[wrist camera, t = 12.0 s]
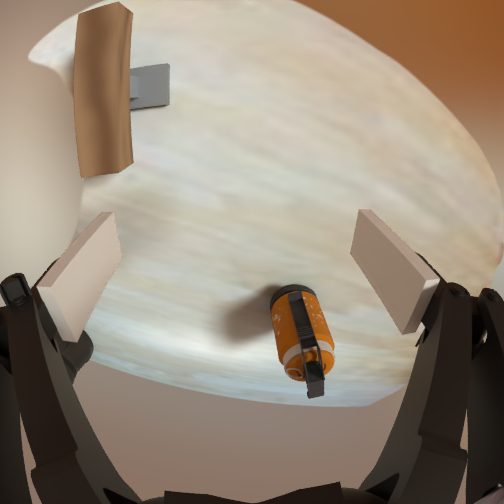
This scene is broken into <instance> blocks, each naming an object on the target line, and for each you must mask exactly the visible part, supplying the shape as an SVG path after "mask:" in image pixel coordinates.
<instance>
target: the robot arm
mask: <svg viewBox="0 0 504 504" xmlns="http://www.w3.org/2000/svg"><path fill="white" fill-rule="evenodd" d="M350 254H351V255H352V257H353V258H354V260H355V261H356V263H357V264H358V265H359V267H360V268H361V270H362V271H363V273H364V274H365V276H366V278H367V279H368V281H369V282H370V284H371V285H372V287H373V288H374V290H375V291H376V293H377V295H378V296H379V298H380V299H381V301H382V303H383V304H384V306H385V307H386V309H387V311H388V312H389V314H390V316H391V317H392V319H393V321H394V322H395V324H396V326H397V327H398V329H399V331H400V332H401V334H402V335H403V334H409V333H414V332H416V330H417V329H418V327H419V325H420V323H421V322H422V323H423V325H424V326H425V329H424V330H423V332H422V334H421V336H420V338H419V340H418V342H417V343H416V345H415V346H416V347H417V346H418V345H419V348H418V352H417V355H416V359H415V363H414V366H413V370H412V373H411V377H410V380H409V383H408V386H407V390H406V393H405V396H404V399H403V401H402V404H401V407H400V410H399V412H398V415H397V418H396V420H395V423H394V426H393V428H392V430H391V433H390V435H389V437H388V440H387V442H386V444H385V446H384V449H383V451H382V453H381V455H380V457H379V459H378V461H377V464H376V465H375V467H374V468H373V470H372V471H371V472H370V474H369V475H368V476H367V477H366V478H365V480H364V481H363V483H362V484H361V486H360V487H359V489H353V488H341V485H340V482H336V483H331V484H327V485H322V486H316V487H311V488H305V489H299V490H296V491H293V492H290V493H288V494H285V495H282V496H279V497H276V498H273V499H269V500H266V501H263V502H259V503H245V502H240V501H235V500H230V499H225V498H221V497H217V496H213V495H208V494H194V493H181V492H171V491H165V493H164V497H157V498H152V499H149V500H145V501H141V499H140V498H139V497H138V496H137V494H136V493H135V492H134V491H133V490H132V489H131V488H130V487H129V486H128V485H127V484H126V483H125V482H124V480H123V479H122V478H121V477H120V475H119V474H118V472H117V471H116V470H115V468H114V466H113V464H112V463H111V461H110V460H109V458H108V456H107V454H106V453H105V451H104V449H103V448H102V446H101V444H100V442H99V440H98V439H97V437H96V435H95V433H94V431H93V429H92V427H91V425H90V423H89V421H88V419H87V417H86V415H85V413H84V411H83V409H82V407H81V404H80V402H79V400H78V398H77V395H76V393H75V390H74V388H73V386H72V385H73V382H74V379H75V377H76V374H77V372H78V371H79V370H80V368H82V366H83V365H84V364H85V363H86V362H88V361H89V359H90V358H91V355H92V353H93V343H92V341H91V339H90V337H89V336H88V335H87V333H86V332H85V331H84V330H83V329H84V327H85V325H86V323H87V321H88V319H89V317H90V315H91V313H92V311H93V309H94V307H95V305H96V303H97V301H98V299H99V298H100V296H101V294H102V292H103V290H104V288H105V287H106V285H107V283H108V281H109V279H110V278H111V276H112V274H113V272H114V271H115V269H116V267H117V265H118V264H119V262H120V260H121V259H122V257H123V256H122V251H121V247H120V242H119V238H118V233H117V228H116V223H115V217H114V212H105V213H101V214H100V215H99V216H98V217H97V218H96V219H95V220H94V221H93V222H92V223H91V224H90V225H89V226H88V227H87V228H86V229H85V230H84V231H83V232H82V233H81V234H80V235H79V236H78V238H77V239H76V240H75V241H74V242H73V243H72V244H71V245H70V246H69V248H68V249H67V250H66V251H65V252H64V253H63V254H62V256H61V257H59V258H58V259H57V260H55V261H54V262H53V263H52V264H51V265H50V266H49V267H48V268H47V271H45V272H44V273H43V276H41V277H40V279H38V281H37V282H36V283H35V284H34V286H33V287H32V288H31V290H30V288H29V286H28V284H27V281H26V278H25V276H24V274H22V273H15V274H12V275H10V276H8V277H7V278H5V279H4V280H3V281H2V282H1V284H0V293H1V296H2V298H3V300H4V302H5V304H6V306H4V307H0V504H32V500H31V496H30V491H29V487H28V482H27V477H26V472H25V464H24V458H23V450H22V441H21V427H20V413H21V417H22V421H23V425H24V429H25V432H26V435H27V438H28V442H29V445H30V448H31V451H32V454H33V456H34V459H35V462H36V468H34V469H33V470H31V478H32V482H33V484H34V487H35V489H36V492H37V494H38V496H39V498H40V500H41V502H42V504H454V503H455V500H456V497H457V494H458V491H459V488H460V485H461V482H462V479H463V475H464V472H465V467H466V464H467V463H468V464H467V477H466V504H504V301H503V299H502V298H501V296H500V295H499V294H498V293H497V291H494V290H493V289H490V288H483V289H482V291H481V293H480V295H479V297H474V296H470V293H469V292H468V291H467V289H465V288H464V287H463V286H461V285H459V284H457V283H453V282H449V283H447V282H446V281H445V280H444V279H443V278H442V277H441V276H440V274H439V273H438V272H437V271H436V270H435V269H433V267H432V266H431V265H430V264H428V262H427V261H426V260H425V259H424V258H423V256H421V255H420V254H418V253H416V252H415V251H413V250H412V249H411V248H410V247H409V246H408V245H407V244H406V243H405V242H404V241H403V240H402V239H401V238H400V237H399V236H398V235H397V234H396V233H395V232H394V231H393V230H392V229H391V228H390V227H389V226H388V225H387V224H386V223H385V222H384V221H383V220H381V219H380V218H379V217H378V216H377V215H376V214H375V213H374V212H373V211H372V210H363V209H359V211H358V217H357V222H356V227H355V233H354V238H353V242H352V247H351V252H350ZM486 333H487V339H486V342H485V343H484V340H483V338H484V336H485V335H486ZM466 409H467V418H468V419H467V421H468V454H467V451H466V450H464V449H461V447H460V441H461V437H462V432H463V427H464V421H465V416H466ZM467 458H468V462H467Z"/></svg>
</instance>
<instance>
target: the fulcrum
mask: <svg viewBox="0 0 504 504" xmlns="http://www.w3.org/2000/svg"><path fill="white" fill-rule="evenodd" d="M169 68H170V65H169V64H159V65H152V66H145V67H139V68H133V69H130V109H135V108H143V107H150V106H159V105H169Z"/></svg>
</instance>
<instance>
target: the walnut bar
mask: <svg viewBox="0 0 504 504" xmlns="http://www.w3.org/2000/svg"><path fill="white" fill-rule="evenodd" d="M132 18H133V13H132V12H131V11H130V10H129V9H127V8H126V7H125V6H123V5H122V4H121V3H120V2H115V3H111V4H108V5H104V6H101V7H98V8H95V9H92V10H89V11H86V12H83V13H80V14H78V21H77V30H76V41H75V56H74V112H75V129H76V140H77V150H78V159H79V167H80V174H81V178H82V177H89V176H97V175H105V174H114V173H119V172H121V171H122V170H124V169H125V168H127V167H128V166H130V165H131V164H133V151H132V137H131V118H130V48H131V31H132Z"/></svg>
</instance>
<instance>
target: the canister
mask: <svg viewBox="0 0 504 504" xmlns="http://www.w3.org/2000/svg"><path fill="white" fill-rule="evenodd" d="M270 310H271V316H272V322H273V327H274V333H275V339H276V345H277V350H278V356H279V360H280V362H281V364H283V365H284V369H285V372H286V374H287V375H288V376H289V377H290V378H292V379H294V380H297V381H306V384H307V388H308V391H307V396H308V398H309V399H310V398H315V397H319V396H323V395H324V380H325V377H324V375H325V374H327V373H328V372H329V371H330V370H331V369H332V367H333V365H334V361H335V356H334V353H333V350H334V342H333V339H332V336H331V334H330V331H329V328H328V326H327V323H326V320H325V318H324V315H323V312H322V310H321V307H320V305H319V302H318V299H317V297H316V294H315V293H314V291H313V290H312V289H310V288H308V287H306V286H301V285H294V286H289V287H286V288H284V289H282V290H280V291H279V292H277V293H276V294H275V295H274V297H273V298H272V300H271V303H270Z"/></svg>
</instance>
